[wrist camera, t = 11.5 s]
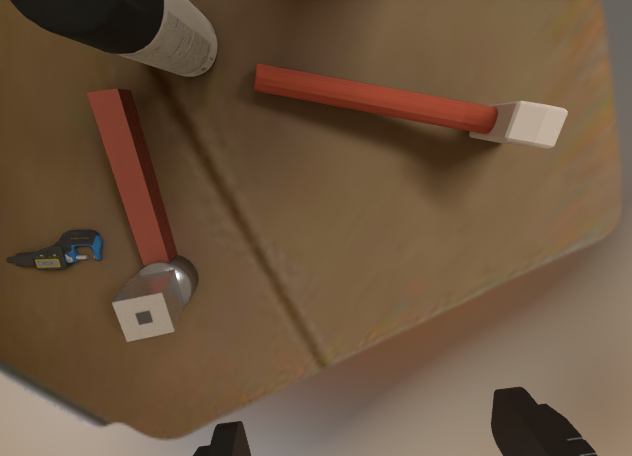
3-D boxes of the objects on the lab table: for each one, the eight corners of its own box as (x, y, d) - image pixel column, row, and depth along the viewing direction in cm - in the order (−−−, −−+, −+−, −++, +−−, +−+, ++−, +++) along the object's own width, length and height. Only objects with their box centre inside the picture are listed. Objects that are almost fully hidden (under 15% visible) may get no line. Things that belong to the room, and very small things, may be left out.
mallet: (240, 89, 30) (558, 150, 29) (244, 48, 29) (575, 109, 28) (268, 98, 40) (505, 143, 39) (272, 68, 39) (516, 114, 38)
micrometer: (94, 232, 39) (103, 269, 41) (103, 227, 41) (111, 263, 43) (-8, 235, 39) (5, 272, 40) (5, 230, 40) (17, 266, 42)
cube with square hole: (131, 277, 38) (111, 303, 33) (174, 269, 39) (161, 293, 34) (143, 312, 40) (126, 342, 35) (184, 304, 41) (174, 332, 35)
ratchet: (85, 96, 35) (40, 91, 29) (147, 88, 36) (116, 82, 29) (153, 302, 44) (130, 331, 38) (203, 296, 44) (188, 324, 38)
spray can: (217, 9, 33) (109, -130, 14) (221, 80, 36) (133, 39, 17) (152, 5, 33) (-46, -142, 14) (160, 77, 35) (-1, 33, 16)
